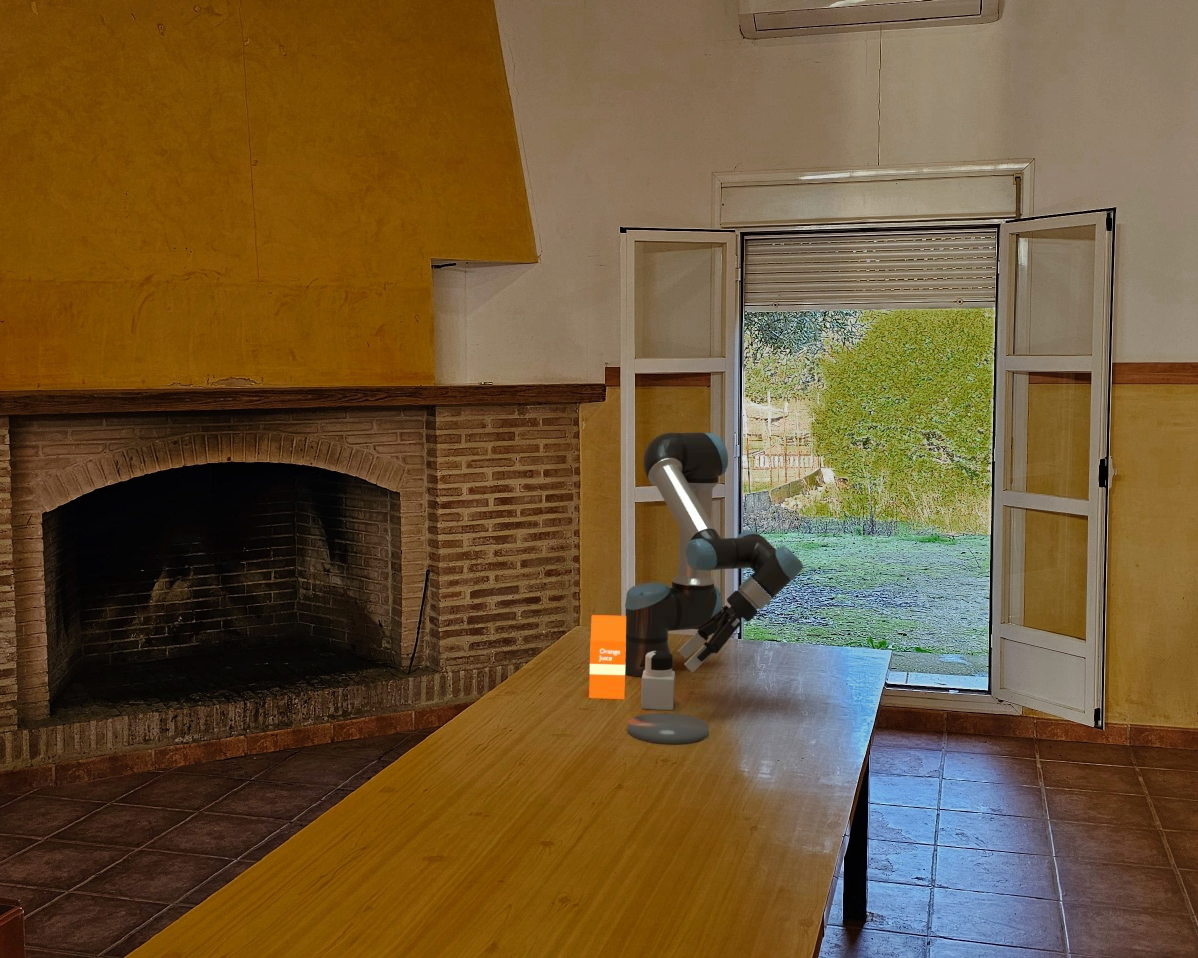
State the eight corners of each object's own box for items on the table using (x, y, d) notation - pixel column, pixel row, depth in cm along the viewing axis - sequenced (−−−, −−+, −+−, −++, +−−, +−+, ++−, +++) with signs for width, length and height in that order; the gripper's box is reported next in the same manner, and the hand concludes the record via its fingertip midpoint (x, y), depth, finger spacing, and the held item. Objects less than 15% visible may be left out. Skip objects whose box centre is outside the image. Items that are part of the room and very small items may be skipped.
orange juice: (624, 698, 276) (626, 619, 274) (588, 697, 276) (590, 618, 274) (624, 690, 283) (626, 612, 282) (589, 689, 284) (591, 611, 282)
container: (674, 701, 274) (675, 649, 273) (673, 710, 267) (674, 657, 265) (642, 700, 275) (644, 648, 274) (640, 709, 267) (642, 655, 266)
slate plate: (611, 730, 250) (611, 723, 250) (663, 714, 263) (663, 708, 263) (673, 749, 238) (673, 742, 238) (724, 732, 251) (724, 725, 251)
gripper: (769, 621, 256) (702, 685, 256) (750, 601, 281) (689, 659, 281) (746, 598, 255) (679, 663, 256) (729, 580, 280) (669, 638, 281)
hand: (684, 661), depth 269 cm, fingers open, 13 cm apart
